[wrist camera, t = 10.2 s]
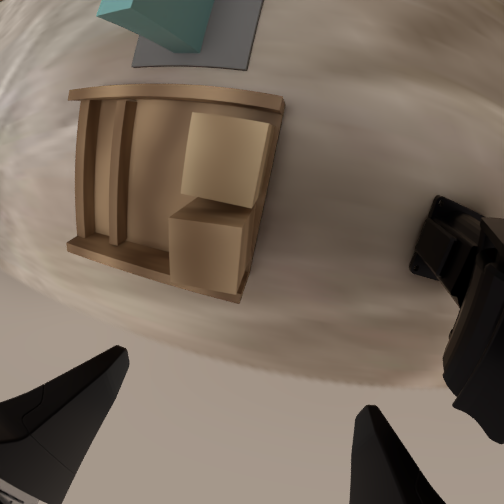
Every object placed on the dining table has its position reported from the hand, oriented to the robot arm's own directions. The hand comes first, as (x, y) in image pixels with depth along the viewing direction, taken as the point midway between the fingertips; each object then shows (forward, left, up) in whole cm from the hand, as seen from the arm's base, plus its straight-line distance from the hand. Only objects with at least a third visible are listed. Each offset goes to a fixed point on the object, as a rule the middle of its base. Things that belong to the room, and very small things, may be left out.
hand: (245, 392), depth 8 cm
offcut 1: (+4, -6, -12) cm, 14 cm away
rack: (+9, -4, -13) cm, 16 cm away
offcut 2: (+4, -1, -12) cm, 13 cm away
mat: (+9, -18, -13) cm, 24 cm away
